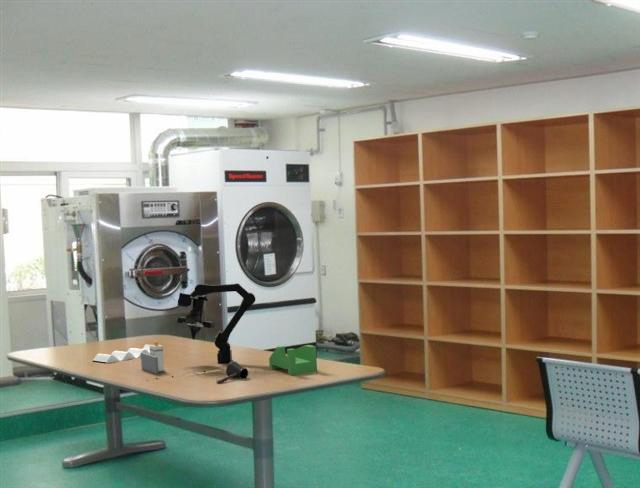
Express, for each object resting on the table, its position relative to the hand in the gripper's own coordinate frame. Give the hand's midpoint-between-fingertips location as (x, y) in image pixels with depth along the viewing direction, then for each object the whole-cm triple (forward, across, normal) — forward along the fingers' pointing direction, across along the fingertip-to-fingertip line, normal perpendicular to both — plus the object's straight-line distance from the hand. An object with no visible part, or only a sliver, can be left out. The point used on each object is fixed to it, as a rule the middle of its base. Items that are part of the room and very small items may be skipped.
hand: (193, 339), depth 427 cm
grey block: (+16, -6, -18) cm, 24 cm away
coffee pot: (+10, +38, -37) cm, 54 cm away
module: (+15, -8, -20) cm, 26 cm away
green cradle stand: (+4, +59, -13) cm, 61 cm away
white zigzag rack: (+21, -50, +23) cm, 58 cm away
